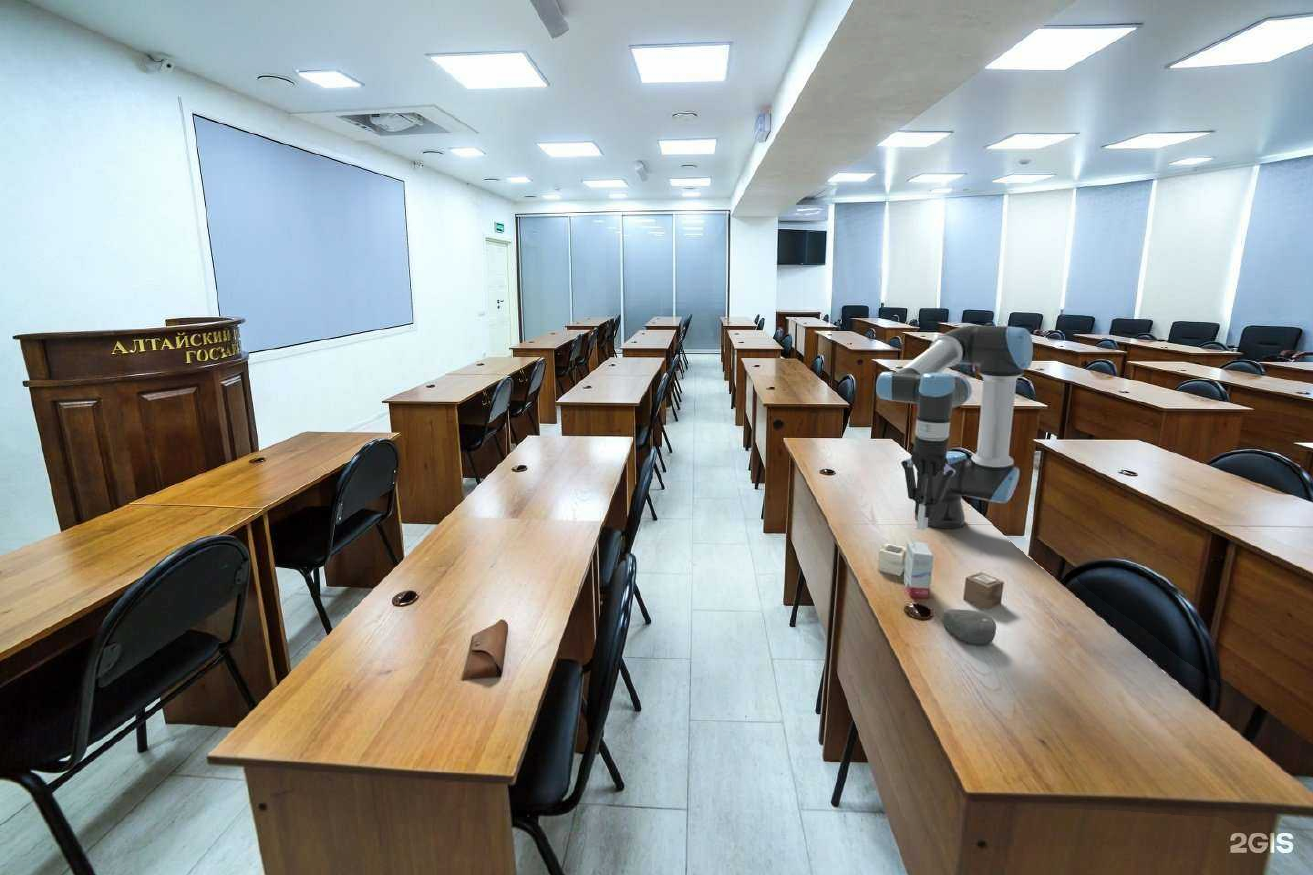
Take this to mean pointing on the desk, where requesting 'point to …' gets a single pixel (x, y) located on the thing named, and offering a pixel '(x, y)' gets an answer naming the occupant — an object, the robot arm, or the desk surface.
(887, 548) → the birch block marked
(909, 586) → the ink box
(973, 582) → the walnut block marked
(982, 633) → the stone
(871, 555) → the desk surface
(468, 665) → the sunglasses case
